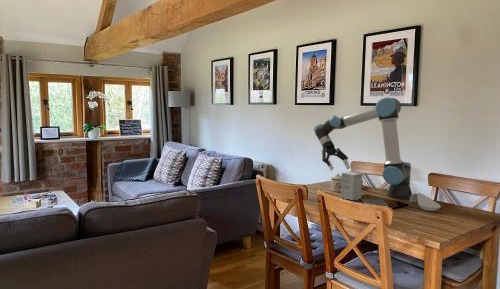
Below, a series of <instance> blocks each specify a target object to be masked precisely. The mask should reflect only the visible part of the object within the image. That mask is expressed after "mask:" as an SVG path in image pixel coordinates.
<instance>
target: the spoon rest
mask: <svg viewBox="0 0 500 289" xmlns="http://www.w3.org/2000/svg"><path fill="white" fill-rule="evenodd" d="M408 202H409V203H417V204H418V206H419V208H420V209H422V210H423V211H426V212H435V211H438V210H440V208H441V205H440V203H438V202H437V201H435V200H433V199H431V198H430V197H428V196H427V195H425V194H423V193H419V192H418V193H412V196H411V197H410V198H409V201H408Z"/></svg>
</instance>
